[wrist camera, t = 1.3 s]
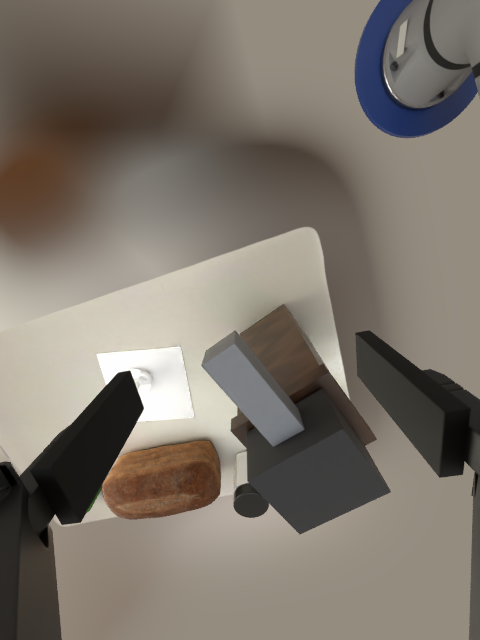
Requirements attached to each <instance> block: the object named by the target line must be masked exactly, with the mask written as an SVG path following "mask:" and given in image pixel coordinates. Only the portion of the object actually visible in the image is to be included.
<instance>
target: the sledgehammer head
mask: <svg viewBox="0 0 480 640" xmlns="http://www.w3.org/2000/svg"><path fill="white" fill-rule="evenodd" d="M201 366H202V367H203V368H204V370H205V371H206V372H207V373H208V374H209V375H210V376H211V377H212V379H213V380H214V381H215V382H216V383H217V384H218V385H219V386H220V388H221V389H222V390H223V391H224V392H225V393H226V394H227V395H228V397H229V398H230V399H231V400H232V401H233V402H234V403H235V404H236V406H237V407H238V408H239V409H240V410H241V411H242V412H243V413H244V415H245V416H246V417H247V418H248V419H249V420H250V421H251V422H252V424H253V425H254V426H255V428H254V429H252V430H250V431H248V432H247V433H246V440H247V481H248V482H249V483H250V484H251V485H252V486H253V487H254V488H255V489H256V490H257V491H258V492H259V493H260V494H261V495H262V496H263V497H264V498H265V499H266V500H267V501H268V502H269V503H270V504H271V506H272V507H273V508H274V509H275V510H276V511H277V512H278V513H279V514H280V515H281V516H282V517H283V518H284V519H285V520H286V521H287V522H288V523H289V524H290V525H291V526H292V527H293V528H294V529H295V530H296V531H297V532H298V533H299V534H302V533H304V532H306V531H308V530H310V529H312V528H315V527H317V526H319V525H321V524H323V523H325V522H328V521H330V520H332V519H334V518H336V517H338V516H340V515H342V514H345V513H347V512H349V511H351V510H353V509H355V508H358V507H360V506H362V505H364V504H366V503H368V502H370V501H373V500H375V499H377V498H379V497H381V496H383V495H386V494H388V493H390V492H391V491H390V489H389V487H388V486H387V484H386V482H385V480H384V479H383V477H382V475H381V473H380V472H379V470H378V468H377V466H376V465H375V463H374V461H373V459H372V458H371V456H370V454H369V452H368V451H367V449H366V447H365V446H364V444H363V442H362V441H361V439H360V438H359V437H358V435H357V434H356V433H355V431H354V430H353V429H352V427H351V426H350V425H349V423H348V422H347V421H346V419H345V418H344V417H343V415H342V414H341V413H340V411H339V410H338V408H337V407H336V406H335V404H334V403H333V402H332V400H331V399H330V398H329V396H328V395H327V394H326V392H325V391H324V390H323V388H321V389H320V390H318V391H316V392H315V393H313V394H311V395H310V396H308V397H306V398H304V399H303V400H301V401H299V402H298V403H296V404H294V403H293V402H292V400H291V399H290V398H289V397H288V395H287V394H286V393H285V392H284V390H283V389H282V388H281V387H280V385H279V384H278V383H277V382H276V380H275V379H274V378H273V377H272V375H271V374H270V373H269V372H268V370H267V369H266V368H265V367H264V365H263V364H262V363H261V362H260V360H259V359H258V358H257V357H256V355H255V354H254V353H253V352H252V350H251V349H250V348H249V347H248V345H247V344H246V343H245V342H244V340H243V339H242V338H241V337H240V336H239V334H238V333H237V332H236V331H234V332H232V333H231V334H229V335H228V336H227V337H225V338H224V339H222V340H221V341H219V342H218V343H216V344H215V345H214V346H212V347H211V348H209V349H208V350H206V352H205V356H204V359H203V362H202V365H201Z"/></svg>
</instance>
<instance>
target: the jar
mask: <svg viewBox="0 0 480 640" xmlns="http://www.w3.org/2000/svg"><path fill="white" fill-rule="evenodd" d="M233 499H234V509H235V511H236V512H237V513H238V514H240V515H242V516H244V517H249V518H253V517H258V516H261V515H263V514H264V513H265V512H266V511H267V509H268V507H269V502H268V501H267V500H266V499H265V498H264V497H263V496H262V495H261V494H260V493H259V492H258V491H257V490H256V489H255V488H254V487H253V486H252V485H251V484H250V483H249V482H248V481H247V451H245V452H241V453H238V454H237V456H236V461H235V466H234V491H233Z"/></svg>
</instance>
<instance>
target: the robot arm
mask: <svg viewBox="0 0 480 640" xmlns="http://www.w3.org/2000/svg"><path fill="white" fill-rule="evenodd" d="M472 71H473V74H474V78H475V82H476V86H477V90H478V94H479V97H480V0H413V1H412V2H411V3H410V4H409V5H408V6H407V7H406V8H405V9H404V10H403V11H402V13H401V14H400V15H399V17H398V18H397V20H396V21H395V22H394V24H393V25H392V27H391V29H390V30H389V32H388V34H387V37H386V39H385V42H384V44H383V48H382V52H381V58H380V76H381V81H382V85H383V88H384V90H385V92H386V94H387V96H388V97H389V98H390V99H391V101H392V102H393V103H395V104H396V105H397V106H399V107H401V108H403V109H406V110H410V111H420V110H425V109H429V108H431V107H433V106H435V105H437V104H439V103H440V102H442V101H443V100H445V99H446V98H448V97H449V96H450V95H452V94H453V93H454V92H455V91H456V90H457V89H458V88H459V87H460V86H461V85H462V84H463V82H464V81H465V80H466V79H467V77H468V76H469V75H470V73H471V72H472ZM356 352H357V375H358V377H359V378H360V379H361V380H362V382H363V383H364V384H365V386H366V387H367V388H368V389H369V391H370V392H371V393H372V394H373V395H374V397H375V398H376V399H377V400H378V402H379V403H380V404H381V405H382V407H383V408H384V409H385V410H386V412H387V413H388V414H389V415H390V417H391V418H392V419H393V420H394V422H395V423H396V424H397V425H398V426H399V428H400V429H401V430H402V431H403V433H404V434H405V435H406V436H407V438H408V439H409V440H410V441H411V443H412V444H413V445H414V446H415V448H416V449H417V450H418V451H419V453H420V454H421V455H422V456H423V458H424V459H425V460H426V461H427V463H428V464H429V465H430V466H431V467H432V469H433V470H434V471H435V472H436V474H437V475H438V476H439V477H448V476H456V475H462V474H463V470H464V461H465V462H466V463H467V464H468V465H469V466H470V467H471V468H472V469H473V470H474V471H475V474H474V481H473V488H472V496H473V523H472V524H473V525H472V558H471V593H470V627H469V640H480V399H478V398H477V397H475V396H474V395H472V394H471V393H470V392H468V391H467V390H464V389H463V388H462V387H461V386H460V385H458V384H457V383H456V384H455V382H454V381H452V380H451V379H450V378H448V377H447V376H445V375H444V374H441V373H439V372H436V371H434V370H431V369H429V370H423V371H422V370H420V369H419V368H418V367H416V366H415V365H414V364H412V363H411V362H410V361H409V360H407V359H406V358H405V357H403V356H402V355H401V354H399V353H398V352H397V351H396V350H394V349H393V348H392V347H390V346H389V345H388V344H386V343H385V342H384V341H383V340H381V339H380V338H378V337H377V336H376V335H375V334H373V333H372V332H371V331H364V332H358V333H356ZM143 410H144V406H143V403H142V401H141V398H140V395H139V392H138V390H137V387H136V384H135V382H134V379H133V376H132V373H131V371H130V370H129V371H123V372H118V373H117V374H116V375H115V376H114V377H113V378H112V380H111V381H110V382H109V383H108V384H107V385H106V386H105V387H104V388H103V390H102V391H101V392H100V393H99V394H98V395H97V396H96V397H95V399H94V400H93V401H92V402H91V403H90V404H89V405H88V406H87V407H86V409H85V410H84V411H83V412H82V413H81V414H80V415H79V416H78V418H77V419H76V420H75V421H74V422H73V423H72V424H71V425H70V426H68V427H67V428H66V429H64V430H63V431H62V432H60V433H59V434H58V435H57V436H56V437H55V438H54V439H53V441H52V442H51V443H50V445H48V446H47V447H46V448H45V449H44V450H43V452H42V453H41V454H40V455H39V456H38V457H37V458H36V459H35V460H34V461H33V462H32V463H31V465H30V466H29V467H28V468H27V469H26V470H25V471H24V472H23V473H22V474H21V475H20V477H19V475H18V474H17V472H16V471H15V469H14V467H13V466H12V464H11V462H1V463H0V640H62V639H61V627H60V615H59V603H58V591H57V580H56V568H55V556H54V545H53V533H52V529H51V527H50V526H49V523H50V521H51V520H52V518H53V517H54V515H55V514H56V516H57V517H58V519H59V521H60V523H61V524H62V525H64V524H72V523H80V522H81V521H82V519H83V518H84V516H85V514H86V512H87V510H88V509H89V507H90V505H91V503H92V501H93V500H94V498H95V496H96V494H97V492H98V491H99V489H100V487H101V485H102V484H103V482H104V480H105V478H106V476H107V475H108V473H109V471H110V469H111V467H112V466H113V464H114V462H115V460H116V459H117V457H118V455H119V453H120V451H121V450H122V448H123V446H124V444H125V442H126V441H127V439H128V437H129V435H130V433H131V432H132V430H133V428H134V426H135V425H136V423H137V421H138V419H139V417H140V416H141V414H142V412H143Z"/></svg>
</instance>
